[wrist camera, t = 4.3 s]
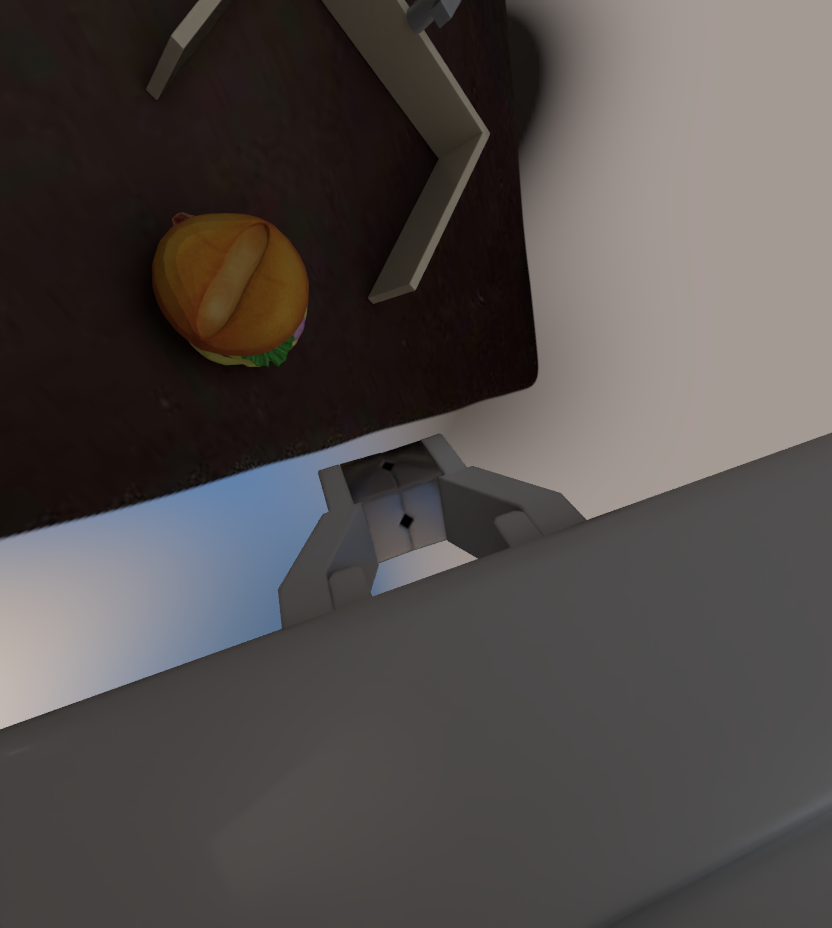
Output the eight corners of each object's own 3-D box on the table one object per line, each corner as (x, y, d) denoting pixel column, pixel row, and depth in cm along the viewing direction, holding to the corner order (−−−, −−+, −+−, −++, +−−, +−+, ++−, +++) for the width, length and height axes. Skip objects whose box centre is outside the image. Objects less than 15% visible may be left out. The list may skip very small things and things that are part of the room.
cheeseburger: (306, 369, 41) (345, 359, 32) (165, 377, 36) (166, 368, 27) (291, 242, 39) (329, 195, 31) (142, 233, 35) (135, 175, 26)
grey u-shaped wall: (373, 304, 45) (468, 273, 36) (145, 90, 32) (205, -41, 23) (447, 156, 51) (546, 97, 42) (276, -80, 38) (368, -240, 29)
